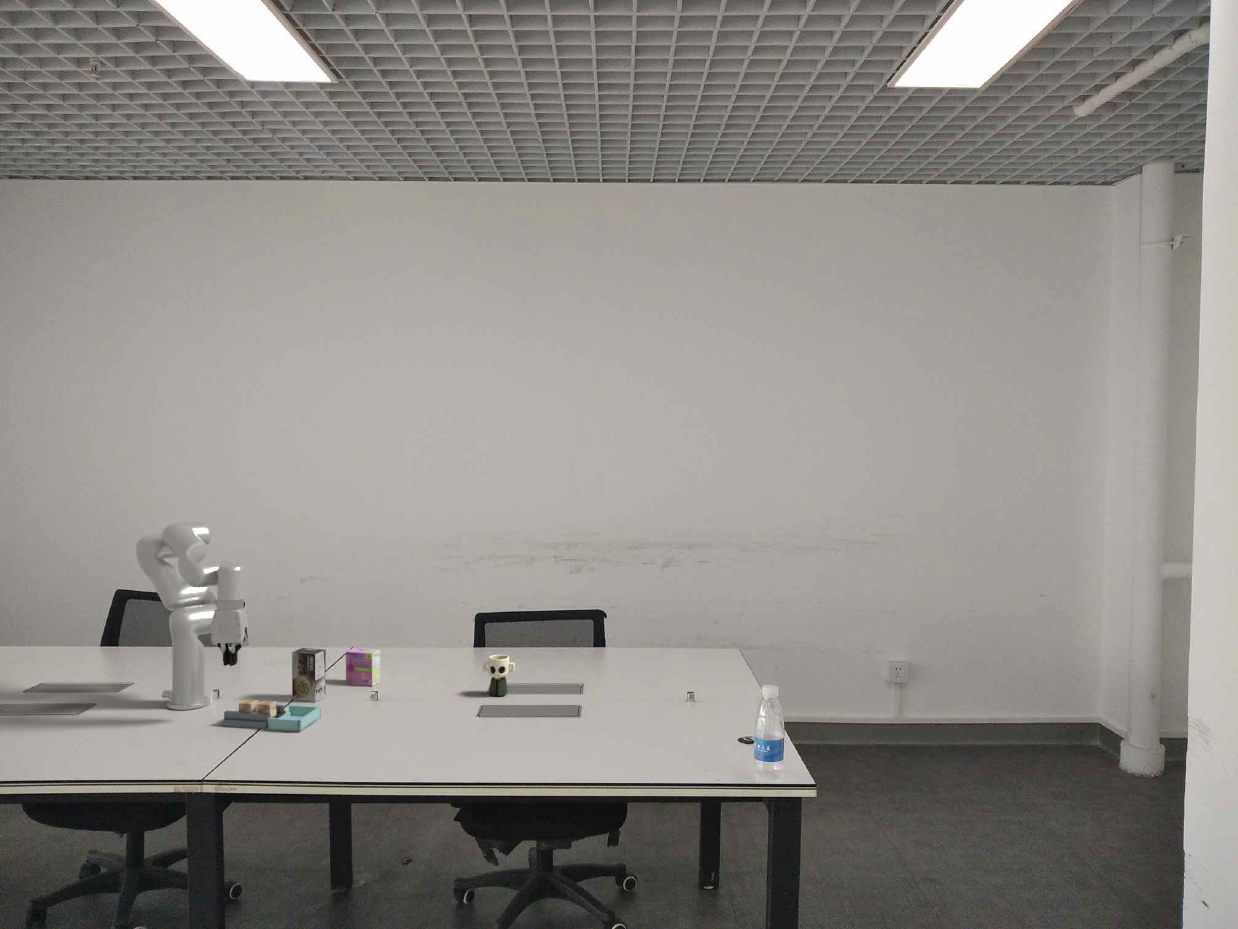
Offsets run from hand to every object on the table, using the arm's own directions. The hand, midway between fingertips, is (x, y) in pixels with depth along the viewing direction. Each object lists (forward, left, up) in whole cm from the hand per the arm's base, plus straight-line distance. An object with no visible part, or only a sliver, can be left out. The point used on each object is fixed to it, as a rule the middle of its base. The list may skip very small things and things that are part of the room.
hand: (230, 664), depth 288 cm
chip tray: (+21, 0, -17) cm, 27 cm away
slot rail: (+8, 0, -17) cm, 19 cm away
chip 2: (+12, 0, -15) cm, 19 cm away
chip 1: (+6, 0, -15) cm, 16 cm away
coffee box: (+13, +26, -17) cm, 34 cm away
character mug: (+73, +43, -17) cm, 86 cm away
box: (+23, +47, -17) cm, 55 cm away
